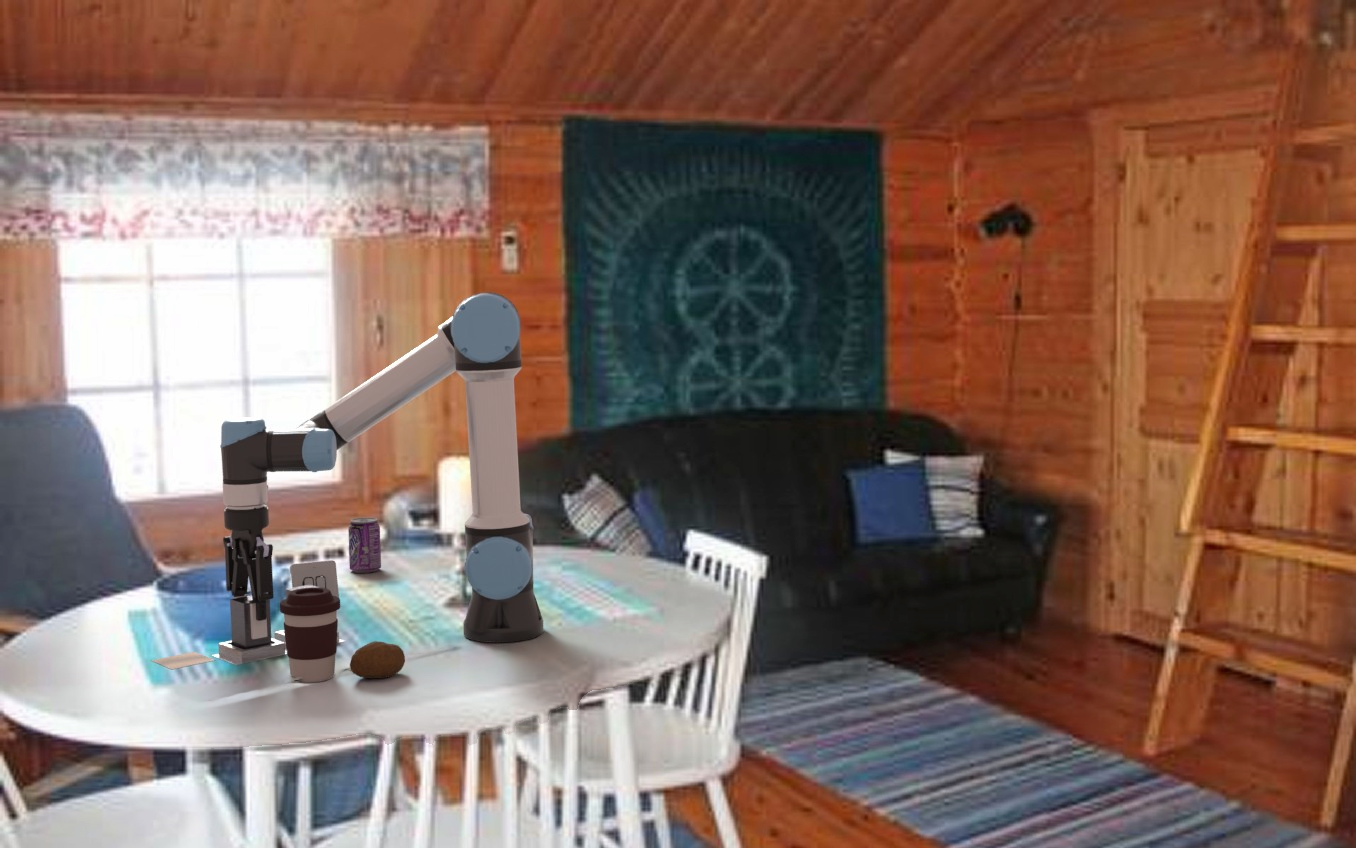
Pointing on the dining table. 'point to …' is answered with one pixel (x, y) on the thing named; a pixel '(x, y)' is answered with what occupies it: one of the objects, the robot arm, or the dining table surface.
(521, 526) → the robot arm
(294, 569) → the electrical switch
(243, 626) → the block
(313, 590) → the coffee cup
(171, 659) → the walnut pad
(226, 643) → the white recessed tray
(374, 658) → the potato
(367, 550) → the beverage can
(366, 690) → the dining table surface
